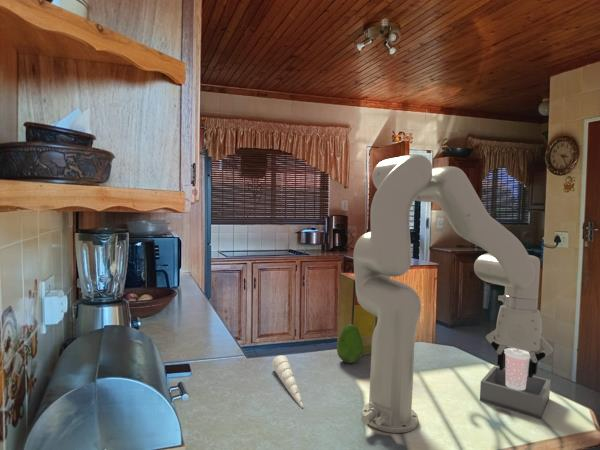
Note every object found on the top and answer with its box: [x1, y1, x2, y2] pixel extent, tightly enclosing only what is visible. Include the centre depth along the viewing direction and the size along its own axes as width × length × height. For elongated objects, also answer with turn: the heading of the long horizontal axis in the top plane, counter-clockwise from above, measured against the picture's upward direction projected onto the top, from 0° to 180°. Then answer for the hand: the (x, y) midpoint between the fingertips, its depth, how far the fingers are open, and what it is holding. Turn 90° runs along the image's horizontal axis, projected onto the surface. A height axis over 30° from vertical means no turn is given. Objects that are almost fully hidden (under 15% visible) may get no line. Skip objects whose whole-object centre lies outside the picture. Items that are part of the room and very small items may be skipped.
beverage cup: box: [504, 347, 531, 390], centre depth 105 cm, size 6×6×14 cm
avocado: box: [336, 324, 363, 364], centre depth 127 cm, size 8×8×12 cm
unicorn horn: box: [271, 355, 304, 409], centre depth 108 cm, size 5×24×5 cm, turn 13°
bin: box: [479, 365, 551, 420], centre depth 106 cm, size 14×14×5 cm
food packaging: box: [336, 272, 377, 356], centre depth 139 cm, size 13×9×25 cm
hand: (516, 371), depth 105 cm, fingers closed on beverage cup, 6 cm apart
